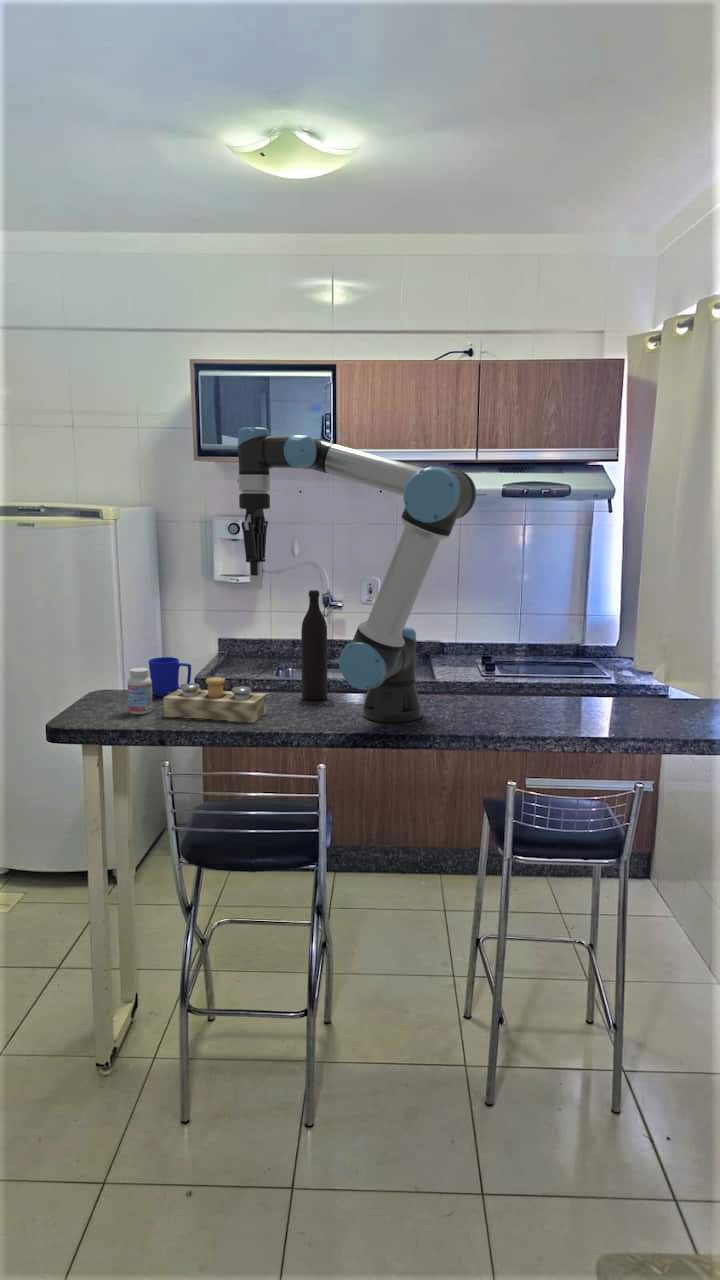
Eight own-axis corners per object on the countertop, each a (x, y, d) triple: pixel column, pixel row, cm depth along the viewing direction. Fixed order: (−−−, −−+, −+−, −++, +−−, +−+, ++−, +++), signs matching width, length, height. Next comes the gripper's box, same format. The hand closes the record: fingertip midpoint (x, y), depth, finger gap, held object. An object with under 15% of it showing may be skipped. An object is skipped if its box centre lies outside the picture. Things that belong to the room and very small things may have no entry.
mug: (185, 699, 219) (184, 664, 217) (144, 697, 221) (143, 662, 220) (197, 692, 227) (196, 658, 225) (158, 690, 229) (156, 656, 227)
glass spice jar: (254, 711, 205) (253, 686, 204) (247, 716, 200) (247, 691, 199) (236, 710, 206) (235, 685, 205) (229, 715, 201) (228, 690, 200)
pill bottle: (124, 714, 205) (122, 671, 203) (136, 708, 210) (134, 666, 208) (145, 715, 203) (143, 672, 201) (157, 709, 209) (155, 667, 207)
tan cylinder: (228, 702, 206) (227, 677, 205) (221, 707, 201) (220, 682, 200) (210, 701, 207) (210, 676, 206) (203, 706, 202) (202, 680, 201)
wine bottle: (328, 695, 225) (327, 589, 219) (326, 701, 218) (326, 592, 212) (303, 694, 225) (302, 589, 220) (300, 701, 218) (299, 592, 213)
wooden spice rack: (267, 712, 207) (266, 693, 206) (253, 722, 197) (253, 703, 196) (181, 706, 212) (180, 688, 211) (164, 716, 202) (163, 697, 201)
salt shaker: (203, 708, 208) (202, 683, 206) (195, 713, 203) (194, 688, 202) (186, 707, 209) (185, 682, 207) (178, 712, 204) (177, 687, 203)
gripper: (249, 492, 203) (251, 584, 207) (230, 492, 191) (232, 590, 195) (277, 492, 202) (278, 585, 206) (260, 492, 189) (261, 591, 193)
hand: (256, 588), depth 200 cm, fingers closed
